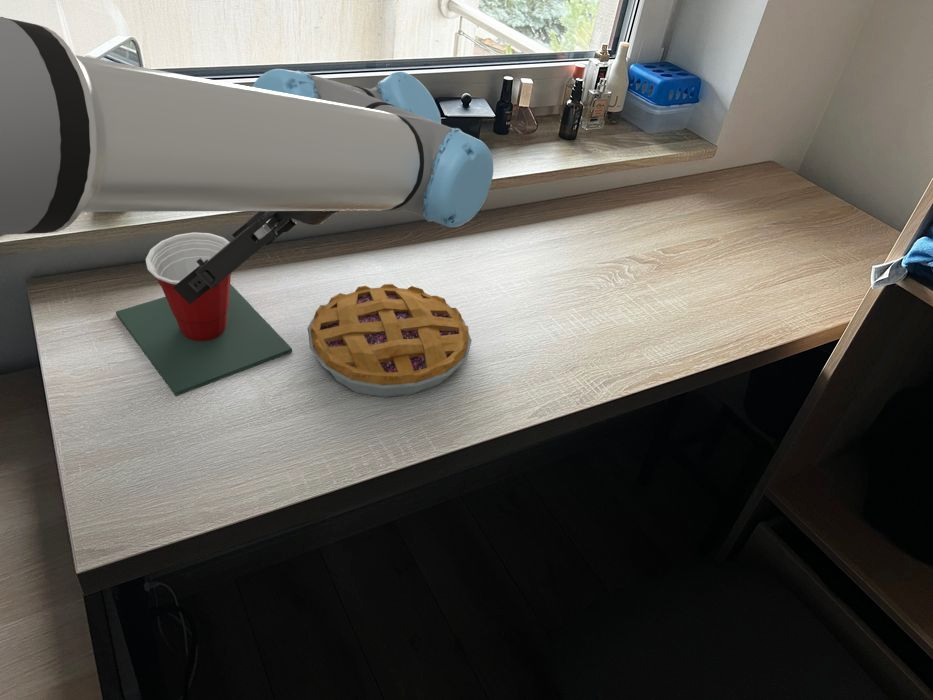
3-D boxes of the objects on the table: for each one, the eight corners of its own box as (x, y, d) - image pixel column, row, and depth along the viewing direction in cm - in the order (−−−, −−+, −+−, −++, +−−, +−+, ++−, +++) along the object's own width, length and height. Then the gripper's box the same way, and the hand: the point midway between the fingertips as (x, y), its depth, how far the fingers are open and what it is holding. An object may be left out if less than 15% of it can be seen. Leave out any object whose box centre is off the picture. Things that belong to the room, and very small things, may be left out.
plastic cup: (144, 346, 94) (127, 268, 87) (184, 300, 103) (171, 226, 95) (224, 361, 94) (213, 283, 86) (257, 314, 102) (249, 240, 95)
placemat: (175, 396, 89) (174, 392, 88) (116, 314, 100) (115, 311, 99) (292, 352, 97) (292, 348, 97) (225, 281, 109) (225, 278, 108)
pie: (434, 296, 111) (437, 268, 108) (494, 386, 96) (498, 357, 93) (292, 318, 103) (290, 289, 100) (332, 421, 88) (331, 390, 85)
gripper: (295, 260, 71) (179, 344, 82) (383, 164, 90) (279, 243, 102) (240, 200, 69) (129, 295, 80) (343, 114, 88) (241, 201, 99)
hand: (213, 266), depth 91 cm, fingers open, 13 cm apart
